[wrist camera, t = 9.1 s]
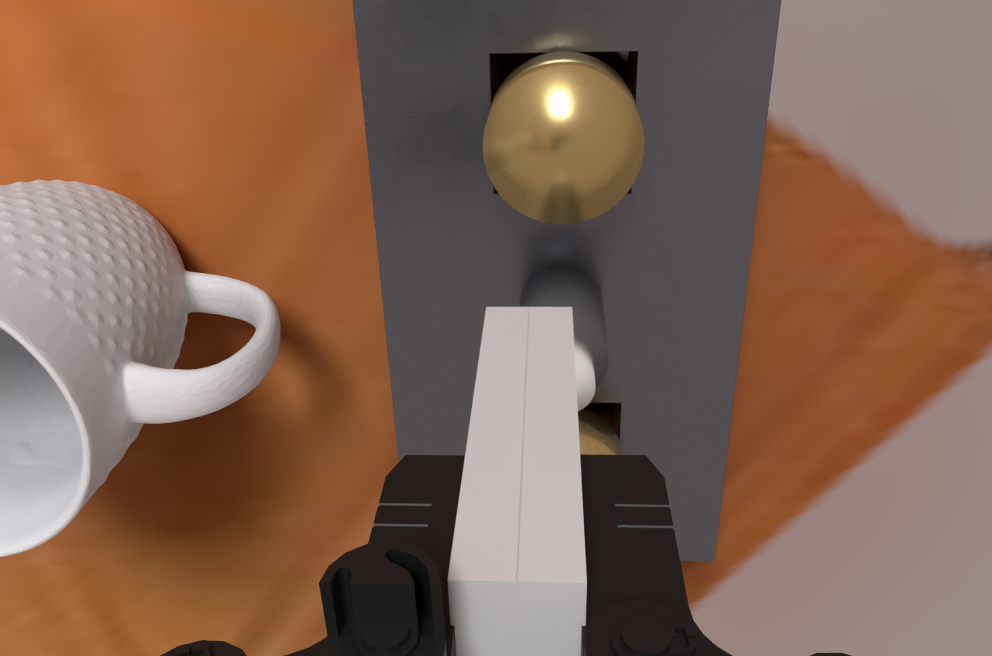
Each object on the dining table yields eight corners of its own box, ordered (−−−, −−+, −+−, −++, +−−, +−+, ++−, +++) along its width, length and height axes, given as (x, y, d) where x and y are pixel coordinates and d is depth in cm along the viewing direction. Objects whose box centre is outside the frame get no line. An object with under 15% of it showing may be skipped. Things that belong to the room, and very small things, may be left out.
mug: (311, 155, 36) (193, 294, 24) (322, 382, 41) (230, 585, 29) (-44, 129, 36) (-325, 254, 25) (12, 357, 41) (-198, 548, 30)
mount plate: (420, 499, 44) (408, 554, 40) (370, -65, 32) (346, -56, 28) (701, 504, 43) (714, 561, 39) (762, -76, 31) (789, -68, 27)
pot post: (520, 340, 35) (514, 426, 29) (519, 267, 33) (511, 343, 28) (601, 341, 34) (609, 428, 29) (603, 266, 33) (612, 344, 28)
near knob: (496, 168, 35) (485, 224, 29) (492, 33, 32) (479, 67, 27) (627, 167, 34) (640, 223, 29) (633, 30, 32) (648, 64, 27)
